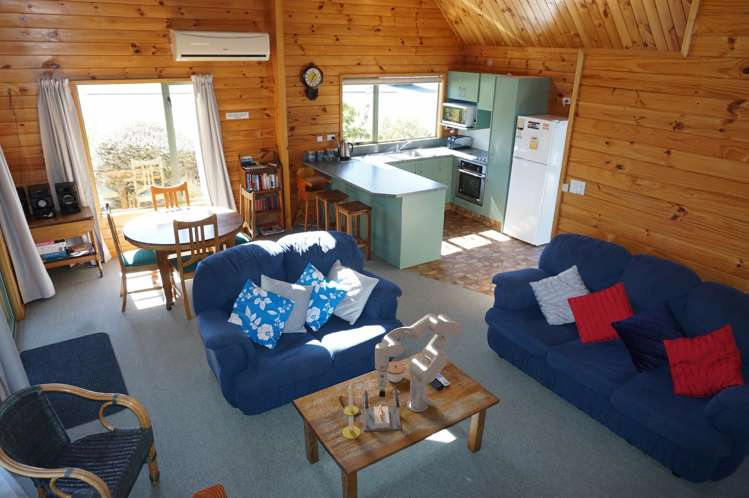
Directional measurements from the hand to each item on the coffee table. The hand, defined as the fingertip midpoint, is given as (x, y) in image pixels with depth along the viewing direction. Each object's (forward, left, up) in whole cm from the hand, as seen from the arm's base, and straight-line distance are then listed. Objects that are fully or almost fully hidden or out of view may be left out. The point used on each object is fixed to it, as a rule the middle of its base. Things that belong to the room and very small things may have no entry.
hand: (381, 391), depth 281 cm
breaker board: (0, 0, -20) cm, 20 cm away
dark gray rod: (-9, 0, -6) cm, 11 cm away
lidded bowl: (-11, -38, -20) cm, 45 cm away
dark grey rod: (+8, 0, -6) cm, 10 cm away
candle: (+17, +9, -20) cm, 28 cm away
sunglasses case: (+17, -12, -21) cm, 30 cm away
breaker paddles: (0, 0, -16) cm, 16 cm away
